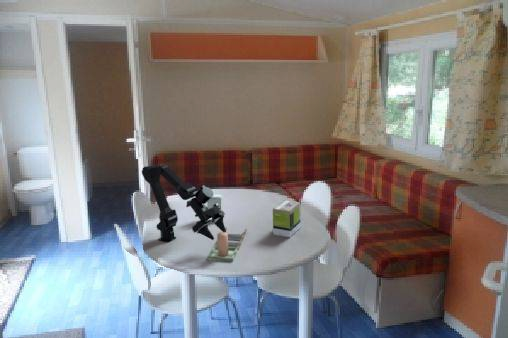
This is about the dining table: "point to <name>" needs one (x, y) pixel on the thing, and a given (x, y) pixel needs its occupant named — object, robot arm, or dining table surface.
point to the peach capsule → (222, 244)
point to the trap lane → (232, 248)
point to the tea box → (286, 218)
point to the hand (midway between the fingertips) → (219, 235)
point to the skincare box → (216, 201)
